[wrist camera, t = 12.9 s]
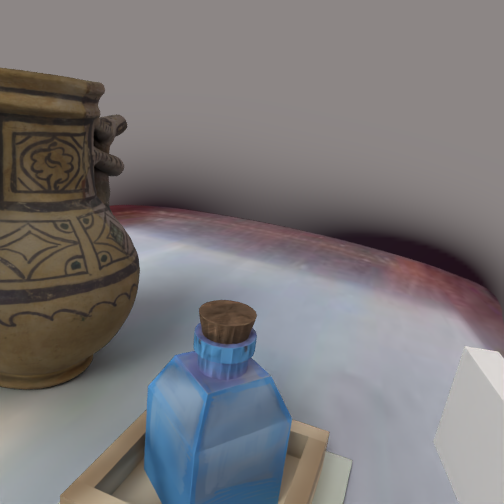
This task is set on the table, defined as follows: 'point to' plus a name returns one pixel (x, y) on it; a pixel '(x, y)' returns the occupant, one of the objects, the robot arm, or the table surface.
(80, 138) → the decorative pitcher
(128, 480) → the oak box
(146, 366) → the table surface
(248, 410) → the perfume bottle
